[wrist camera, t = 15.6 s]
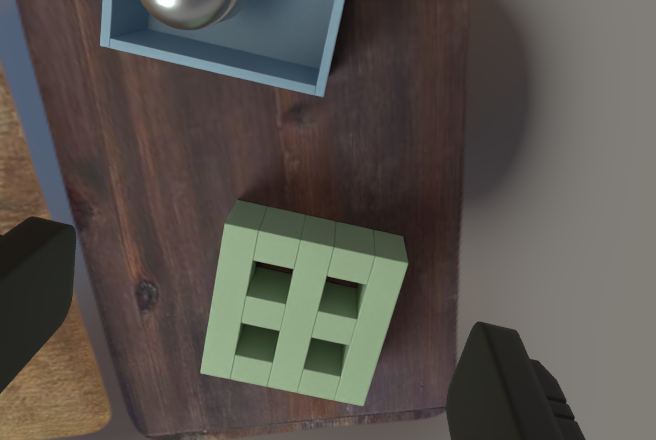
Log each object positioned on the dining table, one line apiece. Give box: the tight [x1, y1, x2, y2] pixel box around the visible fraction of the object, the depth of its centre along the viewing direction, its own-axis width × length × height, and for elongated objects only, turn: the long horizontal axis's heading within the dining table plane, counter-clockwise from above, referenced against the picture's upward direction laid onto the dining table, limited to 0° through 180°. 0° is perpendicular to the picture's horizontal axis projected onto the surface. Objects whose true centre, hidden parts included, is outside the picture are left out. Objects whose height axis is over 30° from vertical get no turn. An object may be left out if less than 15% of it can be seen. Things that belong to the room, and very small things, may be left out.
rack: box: [200, 200, 408, 406], centre depth 48 cm, size 14×14×5 cm
